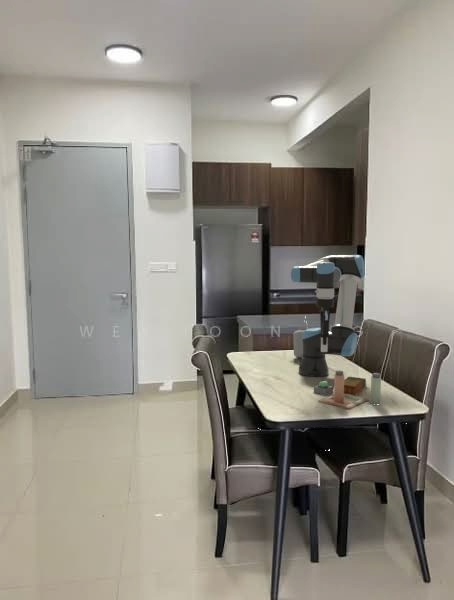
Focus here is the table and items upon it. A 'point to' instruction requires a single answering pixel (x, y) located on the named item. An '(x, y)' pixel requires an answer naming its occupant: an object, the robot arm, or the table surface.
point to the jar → (298, 341)
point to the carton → (354, 385)
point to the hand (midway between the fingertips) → (324, 351)
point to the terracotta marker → (339, 387)
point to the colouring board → (348, 402)
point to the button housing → (323, 390)
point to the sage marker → (375, 388)
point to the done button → (323, 384)
